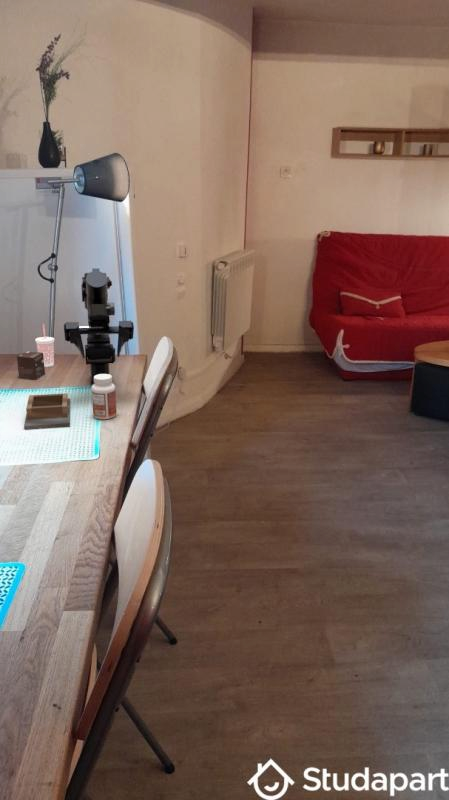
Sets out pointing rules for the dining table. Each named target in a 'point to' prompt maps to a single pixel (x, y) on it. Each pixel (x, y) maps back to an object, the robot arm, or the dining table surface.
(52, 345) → the beverage cup
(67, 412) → the socket
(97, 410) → the pill bottle
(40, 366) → the box
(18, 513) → the dining table surface
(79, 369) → the dining table surface
